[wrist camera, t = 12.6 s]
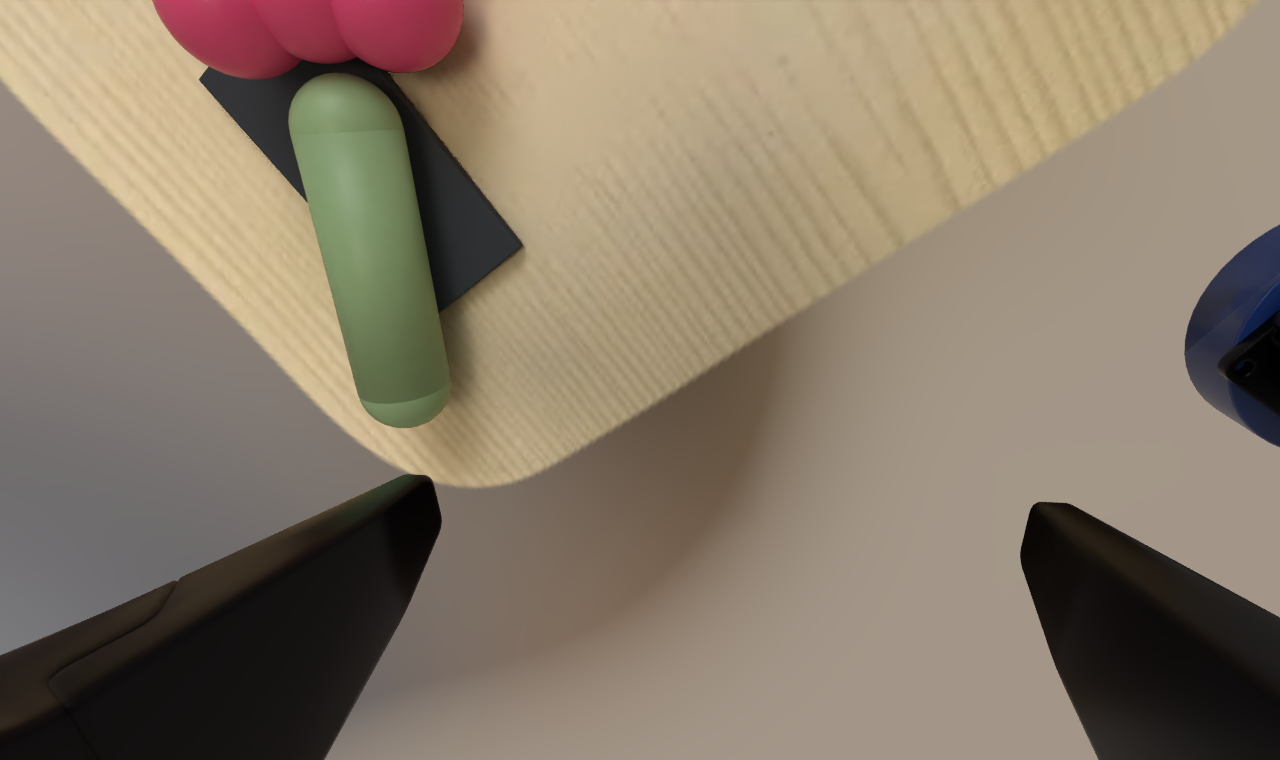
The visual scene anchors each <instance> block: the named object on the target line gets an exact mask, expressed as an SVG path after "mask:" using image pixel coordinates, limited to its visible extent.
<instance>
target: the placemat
mask: <svg viewBox="0 0 1280 760" xmlns="http://www.w3.org/2000/svg"><path fill="white" fill-rule="evenodd" d="M327 73H347V74H351V75H355V76H359V77H361V78H363V79H365V80H367V81H369V82H371V83H372V84H374V85H375V86H376V87H378V88H379V89H380V90H381V91H382V92H383V93H384V94H385V95H386V96H387V97H388V98H389V99H390V100H391V102H392V103H393V104H394V106H395V107H396V109H397V111H398V113H399V116H400V118H401V121H402V125H403V128H404V132H405V138H406V143H407V148H408V154H409V159H410V164H411V170H412V175H413V180H414V186H415V191H416V196H417V202H418V207H419V212H420V218H421V223H422V228H423V233H424V239H425V244H426V249H427V255H428V260H429V265H430V271H431V276H432V281H433V287H434V292H435V297H436V303H437V308H438V313H441V312H442V311H443V310H444V309H445V308H447V307H448V306H449V305H450V304H452V303H453V302H454V301H455V300H457V299H458V298H459V297H460V296H461V295H463V294H464V293H465V292H466V291H468V290H469V289H470V288H471V287H473V286H474V285H475V284H476V283H477V282H479V281H480V280H481V279H482V278H484V277H485V276H486V275H487V274H489V273H490V272H491V271H492V270H494V269H495V268H496V267H497V266H498V265H500V264H501V263H502V262H503V261H505V260H506V259H507V258H508V257H510V256H511V255H512V254H513V253H514V252H516V251H517V250H518V249H519V248H521V247H522V246H523V244H522V243H521V241H520V240H519V239H518V238H517V236H516V235H515V234H514V233H513V231H512V230H511V229H510V228H509V226H508V225H507V224H506V223H505V221H504V220H503V219H502V218H501V216H500V215H499V214H498V212H497V211H496V210H495V209H494V207H493V206H492V205H491V204H490V202H489V201H488V200H487V199H486V197H485V196H484V195H483V194H482V192H481V191H480V190H479V189H478V187H477V186H476V185H475V184H474V182H473V181H472V180H471V178H470V177H469V176H468V175H467V173H466V172H465V171H464V170H463V168H462V167H461V166H460V165H459V163H458V162H457V161H456V160H455V158H454V157H453V156H452V155H451V153H450V152H449V151H448V150H447V148H446V147H445V146H444V144H443V143H442V142H441V141H440V139H439V138H438V137H437V136H436V134H435V133H434V132H433V131H432V129H431V128H430V127H429V126H428V124H427V123H426V122H425V121H424V119H423V118H422V117H421V116H420V114H419V113H418V112H417V110H416V109H415V108H414V107H413V105H412V104H411V103H410V102H409V100H408V99H407V98H406V97H405V95H404V94H403V93H402V92H401V90H400V89H399V88H398V87H397V85H396V84H395V83H394V82H393V80H392V79H391V78H390V77H389V75H388V74H387V73H386V71H385V70H383V69H380V68H377V67H375V66H373V65H370V64H368V63H367V62H365V61H363V60H362V59H360V58H359V57H356V58H354V59H351V60H349V61H346V62H342V63H335V64H320V63H314V62H310V61H306V60H303V59H302V61H301V62H300V63H299V64H298V65H297V66H296V67H294V68H293V69H291V70H290V71H288V72H286V73H284V74H282V75H280V76H277V77H273V78H268V79H244V78H238V77H234V76H231V75H227V74H224V73H222V72H220V71H217V70H215V69H213V68H211V67H208V68H207V70H206V71H205V72H204V73H203V75H202V76H201V77H200V79H199V80H200V82H201V83H202V84H203V85H204V86H205V87H206V88H207V90H208V91H209V92H210V93H211V94H212V95H213V96H214V98H215V99H216V100H217V101H218V102H219V103H220V104H221V105H222V107H223V108H224V109H225V110H226V111H227V112H228V113H229V114H230V116H231V117H232V118H233V119H234V120H235V121H236V122H237V124H238V125H239V126H240V127H241V128H242V129H243V130H244V131H245V133H246V134H247V135H248V136H249V137H250V138H251V139H252V140H253V142H254V143H255V144H256V145H257V146H258V147H259V148H260V149H261V151H262V152H263V153H264V154H265V155H266V156H267V157H268V159H269V160H270V161H271V162H272V163H273V164H274V165H275V166H276V168H277V169H278V170H279V171H280V172H281V173H282V174H283V175H284V177H285V178H286V179H287V180H288V181H289V182H290V183H291V185H292V186H293V187H294V188H295V189H296V190H297V191H298V192H299V194H300V195H301V196H302V197H303V198H304V199H305V200H306V201H307V197H306V193H305V189H304V185H303V182H302V178H301V174H300V170H299V166H298V162H297V158H296V155H295V151H294V147H293V143H292V139H291V135H290V130H289V123H288V121H289V110H290V106H291V103H292V100H293V98H294V96H295V95H296V93H297V91H298V90H299V89H300V88H301V87H302V86H303V85H304V84H305V83H306V82H308V81H310V80H311V79H313V78H314V77H317V76H320V75H323V74H327ZM307 203H308V201H307Z"/></svg>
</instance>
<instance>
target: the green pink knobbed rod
mask: <svg viewBox="0 0 1280 760" xmlns="http://www.w3.org/2000/svg"><path fill="white" fill-rule="evenodd" d="M152 1H153V4H154V6H155V9H156V11H157V13H158V15H159V17H160V19H161V20H162V22H163V23H164V25H165V27H166V28H167V29H168V31H169V32H170V33H171V35H172V36H173V37H174V38H175V40H176V41H177V42H178V43H179V44H180V45H181V46H182V47H183V48H184V49H185V50H187V51H188V52H189V53H190V54H191V55H193V56H194V57H195V58H197V59H198V60H199V61H201V62H202V63H204V64H206V65H207V66H209V67H211V68H213V69H215V70H217V71H220V72H222V73H224V74H227V75H231V76H234V77H238V78H244V79H268V78H273V77H277V76H280V75H282V74H284V73H286V72H288V71H290V70H291V69H293V68H294V67H296V66H297V65H298V64H299V63H300V62H301V61H302V59H303V60H306V61H310V62H314V63H320V64H335V63H342V62H346V61H349V60H351V59H354V58H356V57H359V58H360V59H362V60H363V61H365V62H367V63H368V64H370V65H373V66H375V67H377V68H380V69H383V70H386V71H390V72H396V73H410V72H417V71H421V70H425V69H427V68H429V67H431V66H433V65H435V64H436V63H438V62H439V61H440V60H442V59H443V58H444V57H445V56H446V55H447V54H448V52H449V51H450V50H451V49H452V47H453V46H454V44H455V42H456V40H457V38H458V36H459V33H460V30H461V26H462V21H463V10H464V4H463V0H152ZM288 123H289V130H290V135H291V139H292V143H293V147H294V151H295V155H296V158H297V162H298V166H299V170H300V174H301V178H302V182H303V185H304V189H305V193H306V197H307V201H308V205H309V208H310V212H311V216H312V220H313V224H314V228H315V232H316V235H317V239H318V243H319V247H320V251H321V255H322V258H323V262H324V266H325V270H326V274H327V278H328V281H329V285H330V289H331V293H332V297H333V301H334V305H335V308H336V312H337V316H338V320H339V324H340V328H341V331H342V335H343V339H344V343H345V347H346V351H347V355H348V358H349V362H350V366H351V370H352V374H353V378H354V381H355V385H356V389H357V393H358V396H359V398H360V401H361V403H362V405H363V407H364V408H365V410H366V411H367V412H368V413H369V414H370V415H371V416H372V417H373V418H374V419H376V420H377V421H379V422H381V423H383V424H385V425H388V426H392V427H396V428H411V427H416V426H419V425H422V424H424V423H427V422H429V421H430V420H432V419H433V418H434V417H435V416H437V415H438V414H439V413H440V412H441V410H442V409H443V407H444V406H445V405H446V403H447V400H448V398H449V395H450V389H451V379H450V372H449V367H448V361H447V356H446V351H445V345H444V340H443V335H442V329H441V324H440V319H439V313H438V308H437V303H436V297H435V292H434V287H433V281H432V276H431V271H430V265H429V260H428V255H427V249H426V244H425V239H424V233H423V228H422V223H421V218H420V212H419V207H418V202H417V196H416V191H415V186H414V180H413V175H412V170H411V164H410V159H409V154H408V148H407V143H406V138H405V132H404V128H403V125H402V121H401V118H400V116H399V113H398V111H397V109H396V107H395V106H394V104H393V103H392V102H391V100H390V99H389V98H388V97H387V96H386V95H385V94H384V93H383V92H382V91H381V90H380V89H379V88H378V87H376V86H375V85H374V84H372V83H371V82H369V81H367V80H365V79H363V78H361V77H359V76H355V75H351V74H347V73H327V74H323V75H320V76H317V77H314V78H313V79H311V80H310V81H308V82H306V83H305V84H304V85H303V86H302V87H301V88H300V89H299V90H298V91H297V93H296V95H295V96H294V98H293V100H292V103H291V106H290V110H289V121H288Z"/></svg>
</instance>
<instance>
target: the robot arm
mask: <svg viewBox="0 0 1280 760" xmlns="http://www.w3.org/2000/svg"><path fill="white" fill-rule="evenodd" d="M1244 361H1245V363H1244V365H1243V367H1242V368H1240V369H1238V370H1236V371H1235V368H1236V367H1237V365H1238V364H1240V363H1242V362H1244ZM1217 371H1218V373H1219V374H1220V375H1221V376H1222V377H1224V378H1225V379H1227V380H1228V381H1229V382H1231V383H1232V384H1234V385H1235V386H1236V387H1238V388H1239V389H1241V390H1242V391H1243V392H1245V393H1246V394H1248V395H1249V396H1250V397H1252V398H1253V399H1255V400H1256V401H1257V402H1259V403H1260V404H1262V405H1263V406H1264V407H1266V408H1267V409H1269V410H1270V411H1271V412H1273V413H1274V414H1276V415H1277V416H1278V417H1280V310H1279V311H1277V312H1276V313H1275V314H1274V315H1272V316H1271V317H1270V318H1269V319H1267V320H1266V321H1265V322H1264V323H1263V324H1261V325H1260V326H1259V327H1258V328H1256V329H1255V330H1254V331H1253V332H1252V333H1250V334H1249V335H1248V336H1247V337H1245V338H1244V339H1243V340H1242V341H1240V342H1239V343H1238V344H1237V345H1236V346H1234V347H1233V348H1232V349H1231V350H1229V351H1228V352H1227V353H1226V354H1225V355H1223V356H1222V358H1221V359H1220V360H1219V362H1218V364H1217ZM441 523H442V520H441V512H440V508H439V504H438V500H437V496H436V492H435V487H434V484H433V481H432V479H431V478H430V477H428V476H427V475H411V474H407V475H403V476H400V477H398V478H396V479H394V480H391V481H389V482H387V483H385V484H383V485H381V486H379V487H376V488H374V489H372V490H370V491H368V492H365V493H364V494H361V495H359V496H357V497H355V498H352V499H350V500H348V501H346V502H344V503H342V504H340V505H337V506H335V507H333V508H331V509H328V510H327V511H324V512H322V513H320V514H318V515H316V516H313V517H311V518H309V519H307V520H304V521H302V522H300V523H298V524H296V525H294V526H291V527H289V528H287V529H285V530H283V531H281V532H279V533H276V534H274V535H272V536H270V537H268V538H265V539H263V540H261V541H259V542H257V543H255V544H252V545H250V546H248V547H246V548H244V549H241V550H239V551H237V552H235V553H233V554H231V555H228V556H227V557H224V558H222V559H220V560H218V561H215V562H213V563H211V564H209V565H207V566H205V567H203V568H200V569H198V570H196V571H194V572H192V573H189V574H187V575H185V576H183V577H181V578H180V579H179V581H172V582H170V583H167V584H165V585H163V586H161V587H159V588H157V589H154V590H152V591H150V592H148V593H146V594H144V595H141V596H140V597H137V598H135V599H132V600H130V601H128V602H126V603H123V604H121V605H119V606H117V607H115V608H112V609H110V610H108V611H105V612H103V613H101V614H99V615H96V616H94V617H91V618H89V619H87V620H84V621H82V622H80V623H77V624H75V625H73V626H70V627H68V628H65V629H63V630H61V631H58V632H56V633H54V634H51V635H49V636H47V637H44V638H42V639H39V640H37V641H34V642H32V643H30V644H27V645H25V646H22V647H20V648H17V649H15V650H13V651H10V652H8V653H5V654H3V655H1V656H0V760H325V758H326V756H327V754H328V752H329V750H330V749H331V747H332V745H333V743H334V741H335V740H336V738H337V736H338V734H339V732H340V730H341V729H342V727H343V725H344V723H345V721H346V720H347V718H348V716H349V714H350V712H351V711H352V709H353V707H354V705H355V703H356V701H357V700H358V698H359V696H360V694H361V692H362V690H363V689H364V687H365V685H366V683H367V681H368V680H369V678H370V676H371V674H372V672H373V671H374V669H375V667H376V665H377V663H378V661H379V660H380V657H381V656H382V654H383V652H384V651H385V649H386V647H387V645H388V643H389V642H390V640H391V638H392V636H393V634H394V632H395V630H396V629H397V627H398V625H399V623H400V621H401V619H402V617H403V615H404V613H405V611H406V609H407V607H408V605H409V603H410V601H411V598H412V596H413V594H414V591H415V589H416V587H417V584H418V582H419V580H420V577H421V575H422V572H423V570H424V568H425V565H426V563H427V561H428V558H429V556H430V554H431V551H432V549H433V547H434V544H435V542H436V539H437V537H438V535H439V532H440V529H441ZM1020 558H1021V565H1022V569H1023V572H1024V575H1025V578H1026V581H1027V584H1028V587H1029V590H1030V592H1031V596H1032V599H1033V602H1034V605H1035V608H1036V610H1037V614H1038V616H1039V619H1040V622H1041V625H1042V628H1043V631H1044V634H1045V637H1046V640H1047V643H1048V646H1049V649H1050V652H1051V655H1052V658H1053V660H1054V663H1055V666H1056V668H1057V671H1058V673H1059V675H1060V678H1061V680H1062V682H1063V685H1064V687H1065V689H1066V691H1067V693H1068V695H1069V698H1070V700H1071V702H1072V704H1073V706H1074V708H1075V710H1076V713H1077V715H1078V717H1079V719H1080V721H1081V723H1082V725H1083V728H1084V730H1085V732H1086V734H1087V736H1088V738H1089V740H1090V743H1091V745H1092V747H1093V749H1094V751H1095V753H1096V755H1097V757H1098V760H1280V617H1278V616H1276V615H1274V614H1272V613H1271V612H1269V611H1267V610H1265V609H1263V608H1261V607H1259V606H1258V605H1256V604H1254V603H1252V602H1250V601H1248V600H1247V599H1245V598H1243V597H1241V596H1239V595H1237V594H1235V593H1234V592H1232V591H1230V590H1228V589H1226V588H1224V587H1223V586H1221V585H1219V584H1217V583H1215V582H1213V581H1211V580H1210V579H1208V578H1206V577H1204V576H1202V575H1200V574H1198V573H1197V572H1195V571H1193V570H1191V569H1189V568H1187V567H1186V566H1184V565H1182V564H1180V563H1178V562H1176V561H1175V560H1173V559H1171V558H1169V557H1167V556H1165V555H1163V554H1162V553H1160V552H1158V551H1156V550H1154V549H1152V548H1151V547H1149V546H1147V545H1145V544H1143V543H1141V542H1139V541H1138V540H1136V539H1134V538H1132V537H1130V536H1128V535H1127V534H1125V533H1123V532H1121V531H1119V530H1117V529H1115V528H1114V527H1112V526H1110V525H1108V524H1106V523H1104V522H1103V521H1101V520H1099V519H1097V518H1095V517H1093V516H1092V515H1090V514H1088V513H1086V512H1084V511H1082V510H1080V509H1079V508H1077V507H1075V506H1073V505H1071V504H1068V503H1053V502H1038V503H1036V504H1034V505H1033V507H1032V508H1031V510H1030V513H1029V517H1028V521H1027V525H1026V529H1025V534H1024V538H1023V542H1022V546H1021V552H1020Z"/></svg>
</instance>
